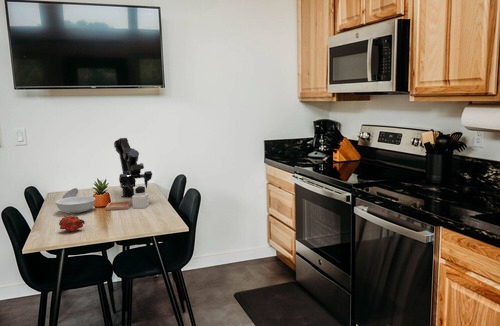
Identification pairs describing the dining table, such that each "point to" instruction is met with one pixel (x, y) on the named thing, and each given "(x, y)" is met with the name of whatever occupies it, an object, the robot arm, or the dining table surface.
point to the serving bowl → (75, 204)
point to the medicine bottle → (140, 198)
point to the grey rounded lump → (71, 193)
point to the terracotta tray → (118, 205)
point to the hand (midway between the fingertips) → (138, 188)
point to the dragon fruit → (71, 223)
